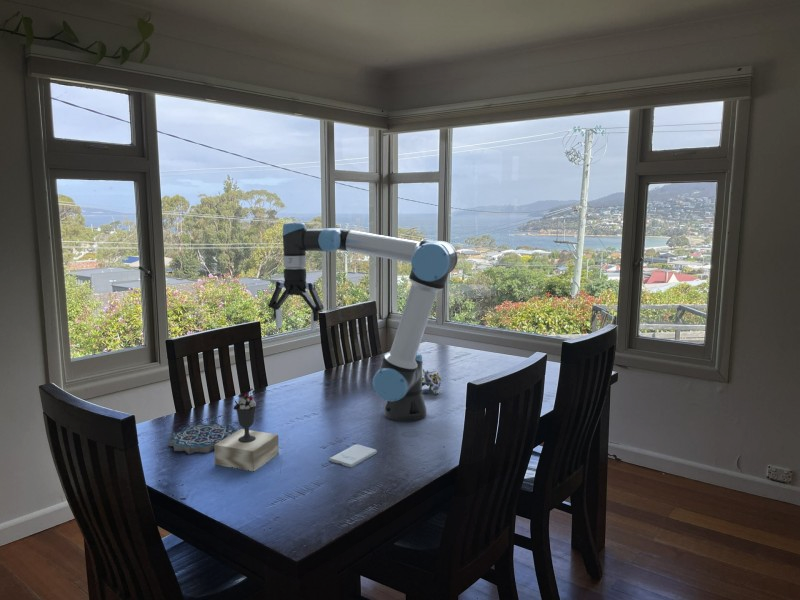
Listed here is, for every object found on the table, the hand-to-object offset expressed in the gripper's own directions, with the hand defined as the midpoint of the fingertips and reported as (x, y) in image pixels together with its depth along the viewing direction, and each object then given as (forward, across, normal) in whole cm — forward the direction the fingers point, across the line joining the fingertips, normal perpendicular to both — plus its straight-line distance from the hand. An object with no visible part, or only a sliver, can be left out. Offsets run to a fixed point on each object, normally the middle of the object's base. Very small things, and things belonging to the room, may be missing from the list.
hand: (296, 329), depth 201 cm
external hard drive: (+32, +32, -25) cm, 52 cm away
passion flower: (+32, +35, +42) cm, 63 cm away
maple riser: (+31, +4, -37) cm, 49 cm away
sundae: (+26, +4, -37) cm, 45 cm away
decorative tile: (+32, -17, -30) cm, 47 cm away
